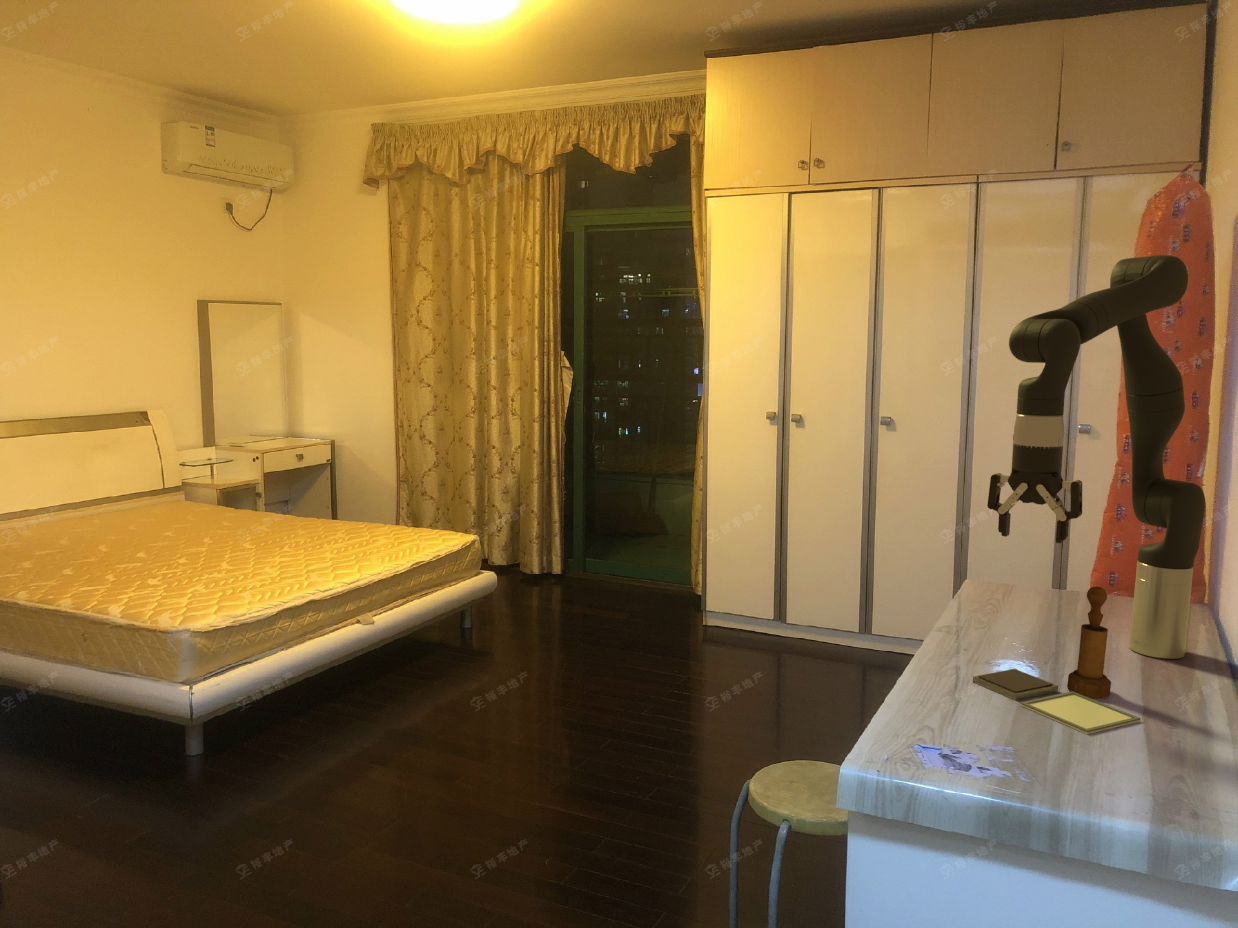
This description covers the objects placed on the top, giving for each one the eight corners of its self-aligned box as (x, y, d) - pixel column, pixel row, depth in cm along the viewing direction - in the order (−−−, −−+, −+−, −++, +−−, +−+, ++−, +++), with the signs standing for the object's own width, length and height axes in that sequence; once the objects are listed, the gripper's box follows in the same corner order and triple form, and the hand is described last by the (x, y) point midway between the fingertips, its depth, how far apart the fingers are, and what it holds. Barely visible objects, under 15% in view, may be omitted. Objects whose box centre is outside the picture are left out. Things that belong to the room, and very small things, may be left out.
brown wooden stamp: (1115, 700, 154) (1125, 593, 152) (1073, 696, 155) (1082, 591, 153) (1103, 686, 160) (1112, 583, 158) (1062, 682, 162) (1071, 581, 159)
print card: (1072, 694, 156) (1072, 691, 156) (1140, 721, 145) (1140, 717, 145) (1020, 705, 151) (1020, 702, 151) (1087, 734, 140) (1087, 730, 140)
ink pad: (1014, 673, 165) (1014, 667, 165) (1057, 691, 157) (1058, 684, 157) (972, 681, 161) (973, 675, 161) (1015, 700, 153) (1015, 693, 153)
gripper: (1090, 443, 152) (1083, 541, 154) (1000, 437, 161) (994, 529, 163) (1079, 447, 146) (1072, 549, 148) (986, 441, 155) (980, 537, 157)
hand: (1031, 538), depth 156 cm, fingers open, 8 cm apart
